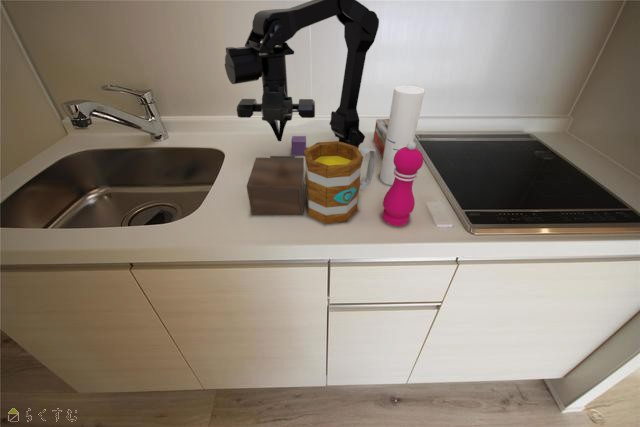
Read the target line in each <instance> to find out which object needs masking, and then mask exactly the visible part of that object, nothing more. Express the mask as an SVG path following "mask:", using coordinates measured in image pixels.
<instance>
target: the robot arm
mask: <svg viewBox="0 0 640 427" xmlns="http://www.w3.org/2000/svg"><path fill="white" fill-rule="evenodd" d="M332 17H336V19H337V20H338V22H339V23H340V24H341V25H343V26H344V28H343V30H344V32H343V37H344V42H345V45H346V49H347V53H346V58H345V59H346V60H345V66H344V73H343V79H342V80H343V81H342V87H341V95H340V100H339V106H338V107H337V109H336V110H335V111H333V110H332V111H331V113H330V121H329V125H330V131H332V133H333V135H334V137H335V138H338V141H339V142H343V143H346V144H349V145H353V146H356V147H358V149H359V148H360V145H361V144H363V143H364V141H365V138H366V135H365V134H364V133H363V132H362V131H361V130H360V117H359V113H358V109H357V108H358V103H359V102H358V101H359V96H360V91H361V85H362V79H363V74H364V69H365V63H366V57H367V53H368V52H369V50H370V48H371V47H372V46H373V44H374V42H375V40H376V37H377V33H378V30H379V28H380V27H379V26H380V25H379V24H380V18H379V17H378V14H377V13H376V12H375V11H374V10H370V9H369V8H368V7H367V6H366V5H364V4H362V3H361V2H360V1H359V0H309V1H306V2H303V3H301V4H297V5H295V6H293V7H289V8H275V9H264V10H263V9H262V10H259V11H258V12H256V13H255V14H254V16H253V19H252V24H251V25H252V28H251V30H250V33H249V35H248V37H247V39H246V41H245V44H244V46H238V47H233V46H227V47H226V48H225V56H224V57H225V58H224V69H225V74H226V76H227V78H228V80H229V82H230V84H231V85H237V84H238V85H239V84H243V83H249V82H250V83H251V82H257V81H259V79H260V78H261V81H262V97H261V103H258V102H257V99H256V98H241V100H240V101H239V102H238V104H237V105H236V114H237V118H242V119H243V118H244V119H245V118H248V119H249V118H251V117H253V115H254V113H261V121H265V122H266V123H268V124H269V126H270V127H271V130H272V131H273V133H274V136H275V138H276V140H277V142H282V140H283V136H284V131H285V128H286V125H287V123H288V122H289V121H292V120H293V114H294V113H298V115H299V116H300V118H302V119H313V118H315V117H316V102H315V100H314V99H313V98H299V99H298V103H293V97H292V96H289V91H288V76H287V74H288V73H287V60H286V58H287V57H286V56H291V55H295V50H293V49H292V48H291V47H290V46H289V44H288V41H289V40H291V39H292V38H293V37H294V36H295V35H296V34H297V33H298V32H299V31H301V30H302V29H305V28H307V27H309V26H312V25H314V24H317V23H319V22H322V21H325V20H327V19H330V18H332ZM359 150H360V149H359Z"/></svg>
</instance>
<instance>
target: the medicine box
mask: <svg viewBox="0 0 640 427" xmlns="http://www.w3.org/2000/svg"><path fill="white" fill-rule="evenodd" d="M388 124H389V118H376V119H375V125H374V131H373V132H374V133H373V142H374V143H375V145H376V147H377V149H378V151H379V152H380V154H381V156H382V157H383V155H384V149H385V142H386V136H387V130H388Z"/></svg>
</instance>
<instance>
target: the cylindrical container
mask: <svg viewBox="0 0 640 427" xmlns="http://www.w3.org/2000/svg"><path fill="white" fill-rule="evenodd" d="M425 91H426V90H425V89H424V88H423V87H420V86H417V85H410V84H403V85H396V86H394V88H393V94H392V100H391V104H390V113H389V118H388V119H389V124H388V130H387V136H386V142H385V149H384V155H383V156H382V162H381V168H380V173H379V179H380V181H381V182H382V183H384V184H386V185H390V186H392V185H393V183H394V179H395V176H394V175H393V172H394V168H395V165H394V162H393V161H394V156H395V154H396V152H397V151H398V150H399V149H401V148H404V147H407V144H408V143H409V142H411V141H412V142H415V136H416V132H417V128H418V122H419V119H420V113H421V110H422V105H423V100H424V98H425Z"/></svg>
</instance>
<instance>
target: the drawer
mask: <svg viewBox="0 0 640 427" xmlns="http://www.w3.org/2000/svg"><path fill="white" fill-rule="evenodd" d="M269 158H296V155H270V156H269Z"/></svg>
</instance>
